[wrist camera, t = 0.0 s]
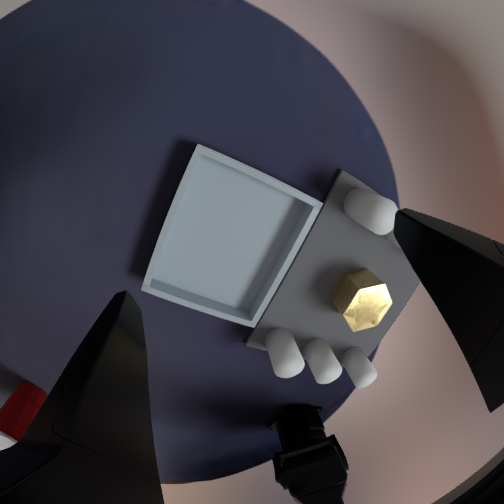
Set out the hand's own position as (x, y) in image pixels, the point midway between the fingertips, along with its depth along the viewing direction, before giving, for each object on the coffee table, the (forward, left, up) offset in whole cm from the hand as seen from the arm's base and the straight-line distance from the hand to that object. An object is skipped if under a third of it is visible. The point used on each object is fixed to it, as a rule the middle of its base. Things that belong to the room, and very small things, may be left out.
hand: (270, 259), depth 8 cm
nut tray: (-4, -2, -15) cm, 16 cm away
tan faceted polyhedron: (-4, -16, -15) cm, 23 cm away
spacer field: (-4, -16, -15) cm, 23 cm away
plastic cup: (-39, +17, -16) cm, 46 cm away
